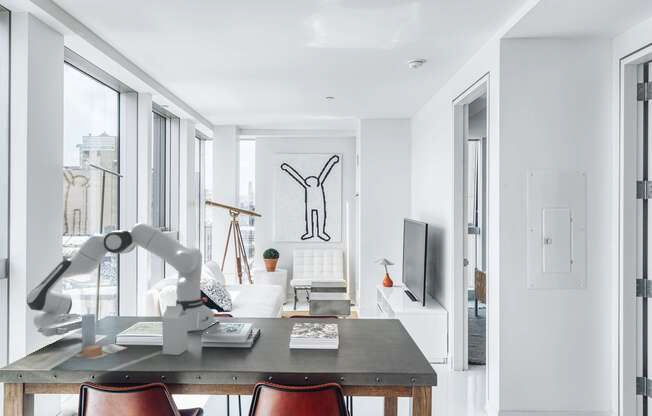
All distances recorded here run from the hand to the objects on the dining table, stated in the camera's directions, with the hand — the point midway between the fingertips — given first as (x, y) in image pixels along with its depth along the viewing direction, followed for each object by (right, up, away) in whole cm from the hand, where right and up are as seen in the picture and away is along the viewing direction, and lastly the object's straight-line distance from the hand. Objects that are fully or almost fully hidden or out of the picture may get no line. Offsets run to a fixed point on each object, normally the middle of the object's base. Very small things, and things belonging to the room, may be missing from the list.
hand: (77, 328), depth 196 cm
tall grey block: (+7, -7, -4) cm, 11 cm away
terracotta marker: (+15, -6, -15) cm, 22 cm away
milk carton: (+46, -7, -11) cm, 48 cm away
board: (+17, -7, -12) cm, 22 cm away
